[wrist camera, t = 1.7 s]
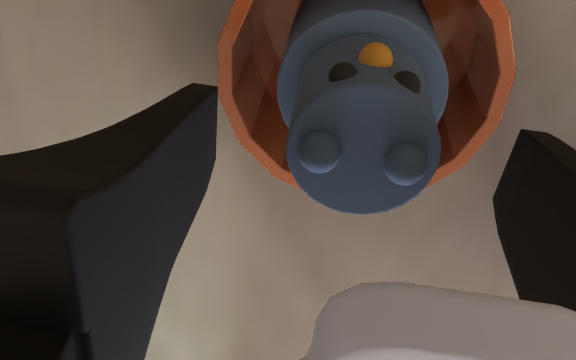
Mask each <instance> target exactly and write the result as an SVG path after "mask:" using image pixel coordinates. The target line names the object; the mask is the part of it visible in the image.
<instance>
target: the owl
mask: <svg viewBox="0 0 576 360" xmlns="http://www.w3.org/2000/svg"><path fill="white" fill-rule="evenodd" d="M448 88H449V81H448V72H447V68H446V64H445V61H444V58H443V55H442V52H441V49H440V46H439V43H438V40H437V38H436V35H435V32H434V29H433V26H432V23H431V20H430V17H429V15H428V12H427V9H426V7H425V5H424V4H423V2H422V0H304V1H303V3H302V4H301V6H300V7H299V9H298V11H297V13H296V15H295V18H294V22H293V25H292V28H291V32H290V35H289V39H288V42H287V45H286V49H285V52H284V56H283V59H282V63H281V66H280V70H279V74H278V80H277V98H278V104H279V108H280V112H281V114H282V117H283V119H284V121H285V123H286V125H287V126H288V128H289V131H288V136H287V141H286V157H287V162H288V166H289V169H290V171H291V174H292V176H293V177H294V179H295V181H296V182H297V184H298V185H299V186H300V187H301V189H302V190H303V191H304V192H305V193H306V194H307V195H308V196H309V197H311V198H312V199H313V200H315V201H316V202H318V203H320V204H321V205H323V206H325V207H328V208H330V209H333V210H336V211H339V212H343V213H348V214H358V215H368V214H377V213H382V212H386V211H389V210H392V209H395V208H397V207H400V206H402V205H404V204H405V203H407V202H409V201H410V200H412V199H413V198H415V197H416V196H417V195H418V194H419V193H420V192H421V191H422V190H423V189H424V188H425V187H426V186H427V185H428V183H429V182H430V181H431V179H432V177H433V176H434V174H435V172H436V169H437V167H438V164H439V160H440V156H441V138H440V134H439V130H438V126H437V123H438V122H439V120H440V118H441V116H442V114H443V111H444V109H445V106H446V102H447V97H448Z"/></svg>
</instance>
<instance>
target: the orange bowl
mask: <svg viewBox="0 0 576 360" xmlns="http://www.w3.org/2000/svg"><path fill="white" fill-rule="evenodd" d="M303 1H304V0H235V2H234V4H233V7H232V9H231V11H230V14H229V16H228V18H227V21H226V23H225V25H224V28H223V30H222V32H221V35H220V37H219V39H218V44H217V58H218V95H219V99H220V101H221V103H222V105H223V108H224V110H225V112H226V114H227V117H228V119H229V121H230V123H231V126H232V128H233V130H234V132H235V135H236V137H237V139H238V141H239V142H240V144H241V145H242V146H243V147H244V148H245V149H246V150H247V151H248V152H249V153H250V154H252V155H253V156H254V157H255V158H256V159H257V160H258V161H259V162H260V163H261V164H262V165H263V166H264V167H265V168H266V169H267V170H268V171H269V172H270V173H271V174H272V175H273V176H275V177H276V178H278V179H280V180H283V181H285V182H287V183H289V184H291V185H293V186H296V187H298V188H300V189H301V187H300V186H299V185H298V184H297V182H296V181H295V179H294V177H293V176H292V174H291V171H290V169H289V166H288V162H287V157H286V141H287V136H288V131H289V128H288V126H287V125H286V123H285V121H284V119H283V117H282V114H281V112H280V108H279V104H278V98H277V80H278V74H279V70H280V66H281V63H282V59H283V56H284V52H285V49H286V45H287V42H288V39H289V35H290V32H291V28H292V25H293V22H294V18H295V15H296V13H297V11H298V9H299V7H300V6H301V4H302V3H303ZM422 2H423V4H424V5H425V7H426V9H427V12H428V15H429V17H430V20H431V23H432V26H433V29H434V32H435V35H436V38H437V40H438V43H439V46H440V49H441V52H442V55H443V58H444V61H445V64H446V68H447V72H448V81H449V88H448V97H447V102H446V106H445V109H444V111H443V114H442V116H441V118H440V120H439V122H438V123H437V126H438V130H439V134H440V138H441V156H440V160H439V164H438V167H437V169H436V172H435V174H434V176H433V177H432V179H431V181H430V182H429V183H428V185H427V186H426V187H425V188H427V187H429V186H431V185H432V184H434V183H436V182H438V181H439V180H441V179H443V178H445V177H446V176H448V175H450V174H451V173H453V172H455V171H457V170H458V169H460V168H462V167H463V166H464V165H466V164H467V162H468V161H469V160H470V159H471V158H472V157H473V155H474V154H475V153H476V152H477V151H478V149H479V148H480V147H481V146H482V145H483V143H484V142H485V141H486V140H487V139H488V138H489V136H490V135H491V134H492V133H493V132H494V130H495V129H496V128H497V127H498V125H499V124H500V121H501V118H502V115H503V112H504V109H505V106H506V103H507V100H508V97H509V94H510V91H511V88H512V85H513V81H514V78H515V75H516V70H517V69H516V61H515V52H514V44H513V36H512V28H511V19H510V15H509V12H508V10H507V9H506V7H505V6H504V4H503V3H502V1H501V0H422ZM425 188H424V189H425ZM424 189H423V190H424Z"/></svg>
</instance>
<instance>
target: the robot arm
mask: <svg viewBox="0 0 576 360" xmlns="http://www.w3.org/2000/svg"><path fill="white" fill-rule="evenodd" d="M217 101H218V87H217V86H210V85H203V84H196V83H192V84H190V85H187V86H186V87H184V88H182V89H180V90H178V91H177V92H175V93H173V94H171V95H170V96H168V97H166V98H165V99H163V100H161V101H159V102H157V103H156V104H154V105H152V106H150V107H149V108H147V109H145V110H143V111H141V112H139V113H137V114H135V115H133V116H131V117H129V118H127V119H125V120H122V121H120V122H118V123H116V124H114V125H112V126H109V127H107V128H104V129H102V130H99V131H97V132H94V133H91V134H88V135H85V136H83V137H80V138H76V139H73V140H69V141H66V142H62V143H58V144H54V145H51V146H47V147H43V148H39V149H35V150H30V151H24V152H19V153H14V154H8V155H1V156H0V360H144V359H145V355H146V351H147V348H148V344H149V341H150V337H151V334H152V331H153V327H154V324H155V321H156V317H157V314H158V311H159V307H160V304H161V301H162V298H163V295H164V292H165V288H166V285H167V282H168V279H169V276H170V273H171V270H172V267H173V265H174V262H175V260H176V257H177V255H178V253H179V251H180V249H181V246H182V244H183V242H184V240H185V238H186V235H187V233H188V231H189V229H190V227H191V224H192V222H193V220H194V218H195V216H196V213H197V211H198V209H199V207H200V205H201V202H202V200H203V198H204V195H205V193H206V191H207V188H208V184H209V181H210V178H211V174H212V170H213V167H214V163H215V159H216V133H217ZM493 204H494V212H495V219H496V225H497V231H498V235H499V238H500V241H501V244H502V248H503V251H504V254H505V257H506V260H507V263H508V266H509V269H510V272H511V275H512V278H513V281H514V284H515V287H516V290H517V293H518V296H519V299H520V300H519V299H512V298H505V297H499V296H492V295H485V294H478V293H471V292H465V291H458V290H451V289H444V288H437V287H431V286H424V285H417V284H410V283H403V282H375V283H360V284H358V285H356V286H354V287H352V288H349V289H347V290H345V291H343V292H341V293H339V294H337V295H335V296H333V297H330V299H329V300H328V302H327V304H326V305H325V307H324V308H323V310H322V311H321V313H320V314H319V316H318V318H317V319H316V324H315V329H314V333H313V338H312V343H311V346H310V349H309V351H308V353H307V355H306V356H305V357H304V358H302V359H300V360H576V150H575V149H573V148H572V147H570V146H569V145H567V144H566V143H564V142H563V141H561V140H560V139H558V138H556V137H555V136H553V135H551V134H549V133H546V132H539V131H531V130H524V129H521V130H520V132H519V135H518V137H517V140H516V142H515V145H514V147H513V150H512V152H511V155H510V157H509V159H508V162H507V164H506V167H505V169H504V172H503V174H502V177H501V179H500V182H499V184H498V187H497V189H496V192H495V194H494V196H493Z"/></svg>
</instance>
